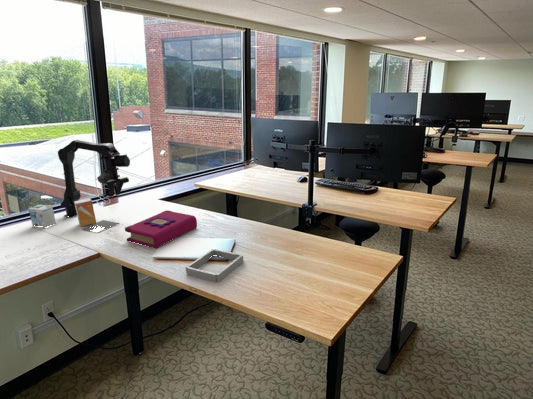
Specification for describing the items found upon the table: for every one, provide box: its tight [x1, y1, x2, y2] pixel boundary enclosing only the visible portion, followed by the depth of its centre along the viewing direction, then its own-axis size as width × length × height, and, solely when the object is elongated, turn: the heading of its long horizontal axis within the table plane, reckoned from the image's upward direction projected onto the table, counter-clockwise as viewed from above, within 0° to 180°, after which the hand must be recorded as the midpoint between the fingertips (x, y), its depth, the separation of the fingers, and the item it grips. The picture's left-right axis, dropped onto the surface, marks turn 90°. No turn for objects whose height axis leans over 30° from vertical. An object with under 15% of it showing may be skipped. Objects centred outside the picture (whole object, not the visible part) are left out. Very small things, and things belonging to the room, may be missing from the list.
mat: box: [81, 219, 120, 232], centre depth 205 cm, size 13×14×1 cm
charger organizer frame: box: [185, 248, 244, 283], centre depth 154 cm, size 16×18×3 cm
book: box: [124, 210, 198, 249], centre depth 189 cm, size 21×28×8 cm
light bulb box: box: [28, 204, 57, 227], centre depth 209 cm, size 11×7×11 cm, turn 68°
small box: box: [74, 198, 97, 227], centre depth 207 cm, size 8×6×13 cm
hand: (115, 194), depth 215 cm, fingers open, 5 cm apart
